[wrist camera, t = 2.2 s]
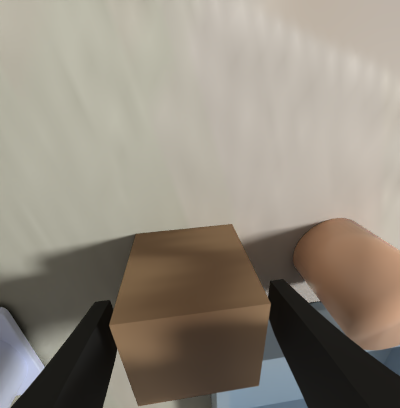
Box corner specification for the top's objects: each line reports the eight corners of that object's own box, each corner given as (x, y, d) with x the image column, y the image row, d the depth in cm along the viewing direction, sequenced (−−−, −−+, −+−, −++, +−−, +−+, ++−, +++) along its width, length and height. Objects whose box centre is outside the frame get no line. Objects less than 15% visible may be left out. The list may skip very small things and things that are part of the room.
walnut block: (150, 301, 13) (138, 406, 8) (136, 233, 11) (109, 325, 6) (230, 291, 13) (258, 385, 9) (231, 223, 11) (270, 303, 7)
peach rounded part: (288, 281, 13) (337, 356, 9) (299, 221, 12) (367, 285, 7) (352, 272, 14) (425, 342, 10) (372, 214, 12) (475, 270, 8)
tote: (211, 409, 20) (218, 458, 17) (207, 317, 14) (216, 367, 11) (370, 382, 21) (399, 423, 18) (424, 287, 15) (478, 326, 13)
